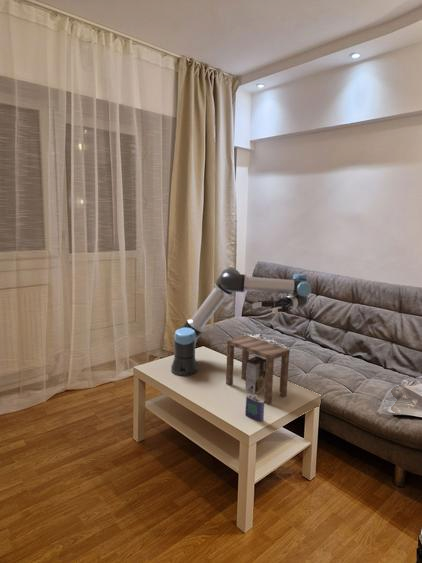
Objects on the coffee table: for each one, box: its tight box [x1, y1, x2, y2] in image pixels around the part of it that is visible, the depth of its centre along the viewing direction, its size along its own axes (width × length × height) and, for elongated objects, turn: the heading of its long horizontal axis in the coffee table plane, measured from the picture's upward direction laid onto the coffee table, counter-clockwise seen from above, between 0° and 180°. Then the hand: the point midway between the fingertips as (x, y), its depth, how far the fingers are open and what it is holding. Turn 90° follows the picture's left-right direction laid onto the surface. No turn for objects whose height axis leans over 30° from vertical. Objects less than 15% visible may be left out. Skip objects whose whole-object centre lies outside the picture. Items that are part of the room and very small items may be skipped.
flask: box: [244, 394, 265, 423], centre depth 165 cm, size 9×3×11 cm, turn 47°
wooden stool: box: [225, 334, 291, 406], centre depth 191 cm, size 29×14×24 cm, turn 42°
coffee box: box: [244, 355, 266, 395], centre depth 191 cm, size 9×6×16 cm
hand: (262, 308), depth 197 cm, fingers open, 13 cm apart
